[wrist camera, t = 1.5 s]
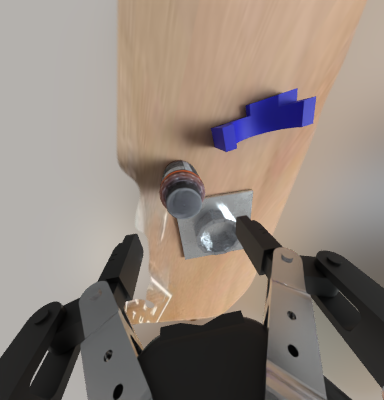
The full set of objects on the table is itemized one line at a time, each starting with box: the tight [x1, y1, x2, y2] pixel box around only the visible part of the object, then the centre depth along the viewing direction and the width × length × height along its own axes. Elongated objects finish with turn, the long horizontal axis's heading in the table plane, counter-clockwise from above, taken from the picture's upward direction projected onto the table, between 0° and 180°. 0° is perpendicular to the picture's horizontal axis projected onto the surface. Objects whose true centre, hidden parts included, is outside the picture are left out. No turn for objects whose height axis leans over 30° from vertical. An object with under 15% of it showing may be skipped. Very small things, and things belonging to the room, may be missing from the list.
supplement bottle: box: [160, 160, 205, 219], centre depth 20 cm, size 6×6×11 cm
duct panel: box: [177, 189, 253, 260], centre depth 30 cm, size 16×16×4 cm
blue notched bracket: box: [211, 88, 316, 152], centre depth 20 cm, size 12×4×6 cm, turn 107°
